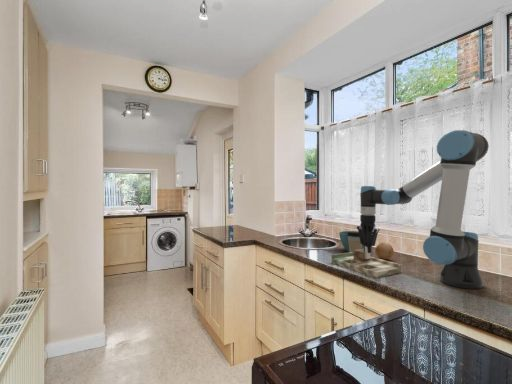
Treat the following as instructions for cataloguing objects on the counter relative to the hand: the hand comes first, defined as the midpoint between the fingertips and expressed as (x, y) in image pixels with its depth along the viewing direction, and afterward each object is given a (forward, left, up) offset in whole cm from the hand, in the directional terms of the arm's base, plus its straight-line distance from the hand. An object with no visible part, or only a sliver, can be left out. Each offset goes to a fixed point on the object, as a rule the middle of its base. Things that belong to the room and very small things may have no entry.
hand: (367, 258), depth 147 cm
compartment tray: (-1, +4, -4) cm, 6 cm away
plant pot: (+29, -21, -4) cm, 36 cm away
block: (+4, 0, -2) cm, 4 cm away
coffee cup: (+18, -10, -4) cm, 21 cm away
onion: (+5, -20, -4) cm, 21 cm away
